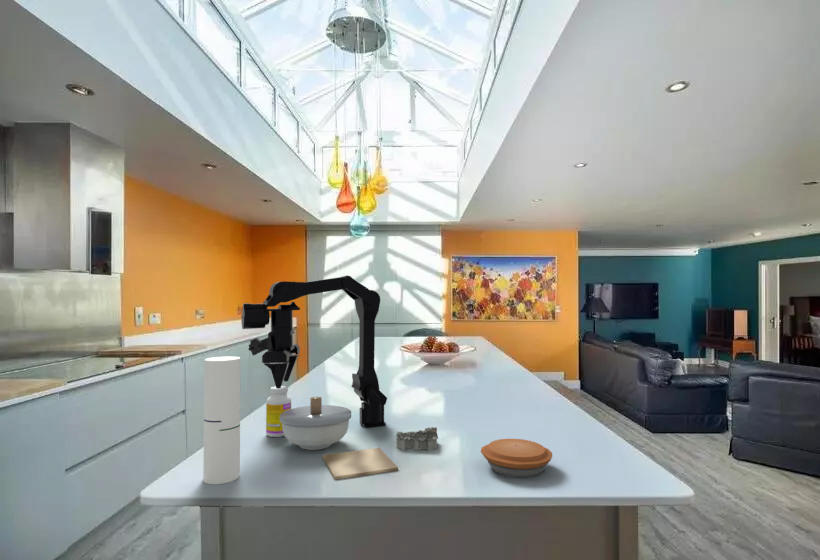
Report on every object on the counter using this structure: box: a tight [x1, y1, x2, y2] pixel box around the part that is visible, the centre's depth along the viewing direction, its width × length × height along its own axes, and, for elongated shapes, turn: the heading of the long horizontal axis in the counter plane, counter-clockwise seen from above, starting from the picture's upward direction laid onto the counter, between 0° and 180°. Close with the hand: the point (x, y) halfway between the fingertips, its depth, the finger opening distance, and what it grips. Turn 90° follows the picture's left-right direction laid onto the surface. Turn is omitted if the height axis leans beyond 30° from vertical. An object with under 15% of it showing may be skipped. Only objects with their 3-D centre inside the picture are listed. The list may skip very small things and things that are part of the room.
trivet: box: [322, 447, 399, 480], centre depth 105 cm, size 14×14×1 cm
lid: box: [280, 396, 352, 428], centre depth 119 cm, size 18×18×5 cm
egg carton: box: [395, 427, 439, 451], centre depth 118 cm, size 11×8×4 cm
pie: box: [479, 438, 553, 478], centre depth 103 cm, size 15×16×5 cm
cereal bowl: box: [282, 419, 350, 451], centre depth 119 cm, size 17×17×7 cm
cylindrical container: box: [202, 355, 241, 485], centre depth 98 cm, size 7×7×25 cm
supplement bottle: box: [265, 385, 292, 438], centre depth 128 cm, size 7×7×13 cm
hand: (282, 384), depth 126 cm, fingers open, 9 cm apart
